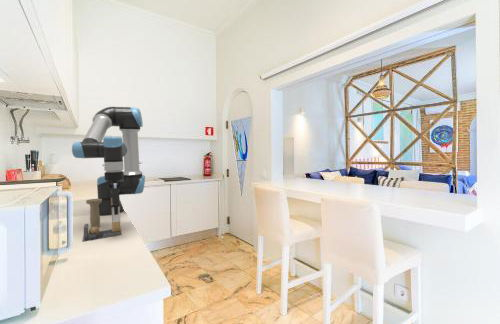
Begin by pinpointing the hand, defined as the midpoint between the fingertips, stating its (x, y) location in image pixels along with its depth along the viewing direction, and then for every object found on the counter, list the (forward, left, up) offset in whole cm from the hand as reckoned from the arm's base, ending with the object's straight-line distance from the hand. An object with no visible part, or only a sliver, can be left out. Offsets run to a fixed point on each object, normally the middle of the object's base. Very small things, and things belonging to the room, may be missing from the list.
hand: (115, 218), depth 111 cm
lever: (0, 0, -6) cm, 6 cm away
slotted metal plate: (+2, -5, -8) cm, 10 cm away
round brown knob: (+3, -8, -7) cm, 11 cm away
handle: (-9, -13, -8) cm, 18 cm away
